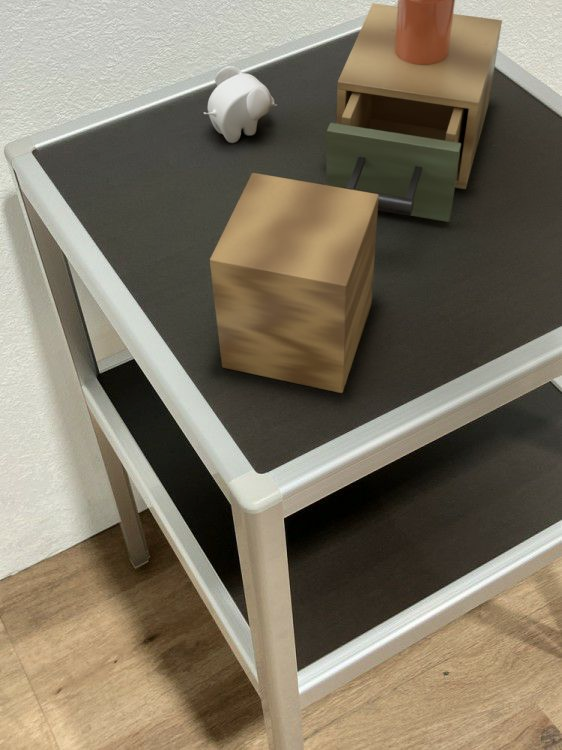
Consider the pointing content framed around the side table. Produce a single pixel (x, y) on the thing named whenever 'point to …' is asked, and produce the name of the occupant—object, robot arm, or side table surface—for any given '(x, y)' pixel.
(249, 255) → the oak stand
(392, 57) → the cabinet
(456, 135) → the drawer
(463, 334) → the side table surface
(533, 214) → the side table surface
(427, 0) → the spice jar
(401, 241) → the side table surface
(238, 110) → the elephant figurine
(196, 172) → the side table surface
